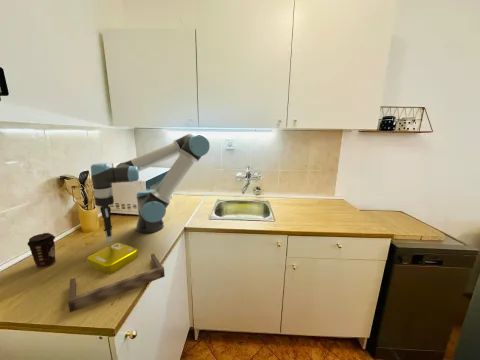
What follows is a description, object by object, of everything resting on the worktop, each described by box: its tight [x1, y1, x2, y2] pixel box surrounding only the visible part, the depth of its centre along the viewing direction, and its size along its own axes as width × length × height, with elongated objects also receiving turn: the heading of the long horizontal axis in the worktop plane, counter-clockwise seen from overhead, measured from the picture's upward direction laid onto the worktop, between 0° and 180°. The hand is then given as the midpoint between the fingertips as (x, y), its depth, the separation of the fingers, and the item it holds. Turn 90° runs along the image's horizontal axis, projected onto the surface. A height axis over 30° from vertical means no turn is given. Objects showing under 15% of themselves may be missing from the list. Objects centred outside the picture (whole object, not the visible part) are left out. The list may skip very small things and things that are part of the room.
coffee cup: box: [27, 232, 56, 269], centre depth 91 cm, size 9×8×13 cm
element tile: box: [86, 242, 139, 275], centre depth 95 cm, size 15×15×5 cm
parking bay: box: [67, 253, 165, 313], centre depth 82 cm, size 30×14×4 cm, turn 126°
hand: (109, 241), depth 106 cm, fingers closed
